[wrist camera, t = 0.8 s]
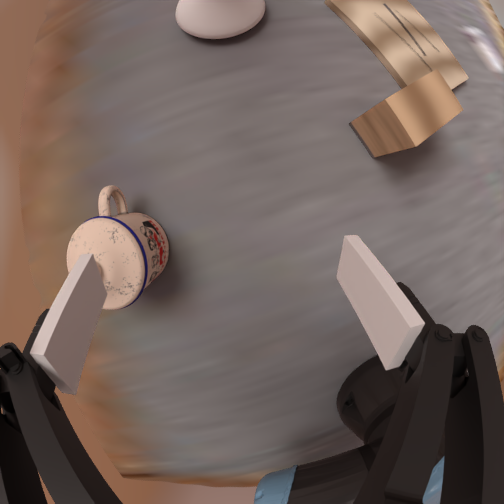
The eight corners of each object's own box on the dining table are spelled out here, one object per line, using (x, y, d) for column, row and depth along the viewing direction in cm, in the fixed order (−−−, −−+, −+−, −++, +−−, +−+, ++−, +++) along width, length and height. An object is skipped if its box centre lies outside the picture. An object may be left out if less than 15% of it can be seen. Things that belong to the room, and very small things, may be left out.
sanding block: (395, 94, 28) (437, 68, 19) (416, 125, 29) (463, 109, 19) (348, 123, 29) (385, 99, 20) (372, 158, 30) (416, 146, 20)
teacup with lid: (176, 281, 33) (144, 323, 21) (112, 285, 33) (63, 321, 22) (164, 181, 30) (121, 175, 19) (98, 192, 31) (40, 194, 19)
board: (463, 80, 27) (468, 78, 26) (417, 111, 29) (423, 109, 27) (384, -14, 24) (387, -19, 22) (324, 3, 25) (326, -3, 24)
